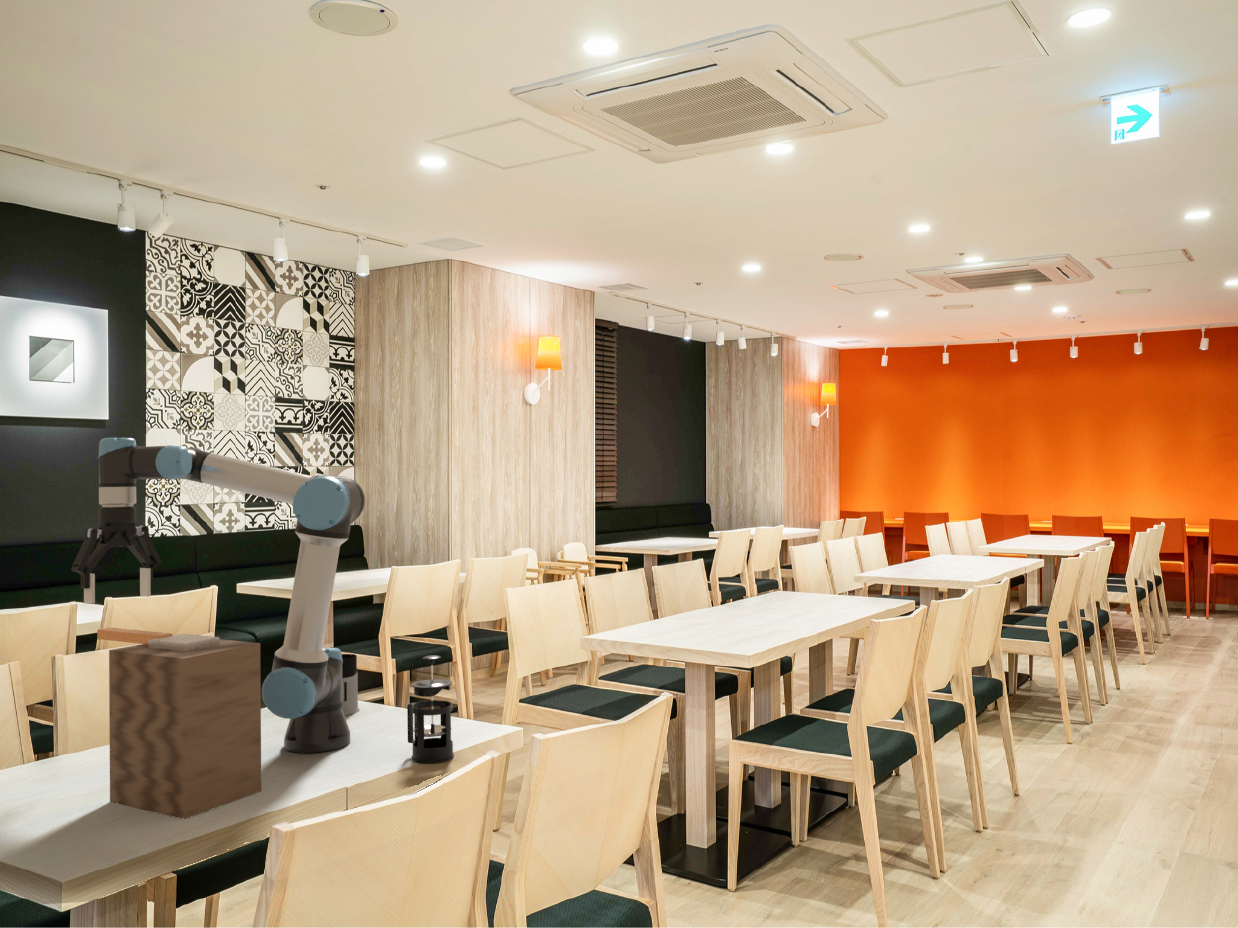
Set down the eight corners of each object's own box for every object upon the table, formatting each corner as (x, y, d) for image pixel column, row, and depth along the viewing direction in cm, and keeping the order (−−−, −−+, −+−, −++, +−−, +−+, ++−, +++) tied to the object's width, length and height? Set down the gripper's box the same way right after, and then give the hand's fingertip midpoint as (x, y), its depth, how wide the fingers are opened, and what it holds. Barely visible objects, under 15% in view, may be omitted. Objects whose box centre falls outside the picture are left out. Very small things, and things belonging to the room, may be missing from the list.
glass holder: (362, 707, 265) (362, 653, 265) (350, 720, 251) (349, 663, 251) (331, 707, 264) (330, 653, 265) (316, 720, 250) (315, 663, 250)
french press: (464, 754, 218) (463, 653, 218) (439, 766, 209) (438, 661, 209) (422, 749, 223) (421, 650, 223) (396, 760, 214) (395, 657, 214)
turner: (86, 640, 200) (86, 631, 200) (121, 635, 207) (121, 625, 207) (185, 651, 186) (185, 641, 186) (219, 645, 193) (219, 635, 193)
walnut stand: (109, 801, 188) (109, 649, 189) (188, 776, 204) (187, 636, 205) (184, 819, 178) (183, 658, 179) (261, 790, 194) (260, 643, 195)
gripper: (156, 504, 229) (156, 592, 228) (53, 507, 207) (53, 605, 206) (176, 504, 225) (177, 593, 225) (74, 507, 203) (74, 607, 203)
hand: (118, 599), depth 216 cm, fingers open, 13 cm apart
